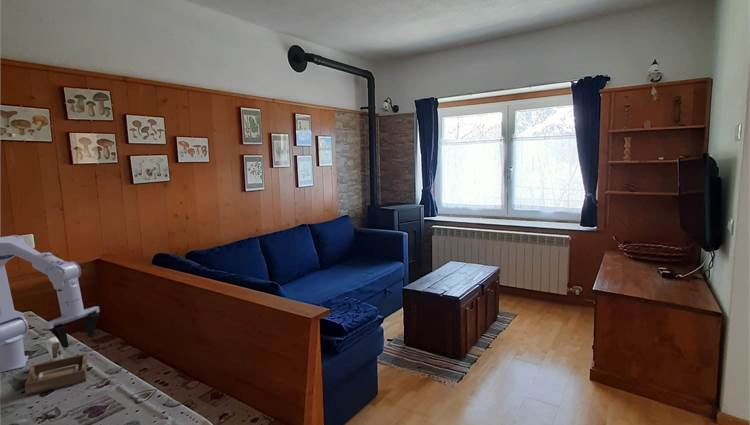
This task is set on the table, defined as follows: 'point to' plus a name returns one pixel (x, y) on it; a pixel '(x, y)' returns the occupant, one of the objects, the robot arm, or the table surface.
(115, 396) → the table surface
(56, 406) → the table surface
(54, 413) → the table surface
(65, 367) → the socket box
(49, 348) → the milkshake
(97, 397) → the table surface
